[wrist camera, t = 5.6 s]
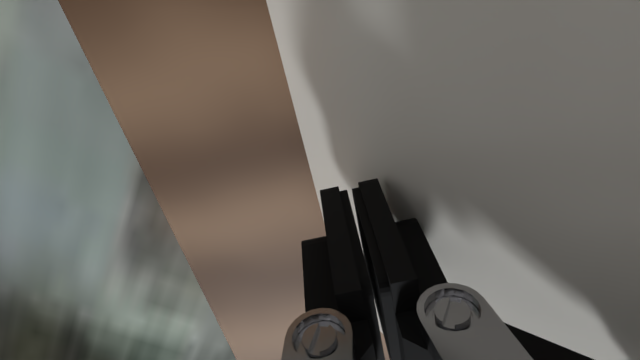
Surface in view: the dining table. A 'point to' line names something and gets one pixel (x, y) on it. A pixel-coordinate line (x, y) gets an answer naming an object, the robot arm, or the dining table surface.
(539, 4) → the tile
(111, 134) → the dining table surface
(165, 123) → the board
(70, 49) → the dining table surface
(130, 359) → the dining table surface
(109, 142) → the dining table surface
